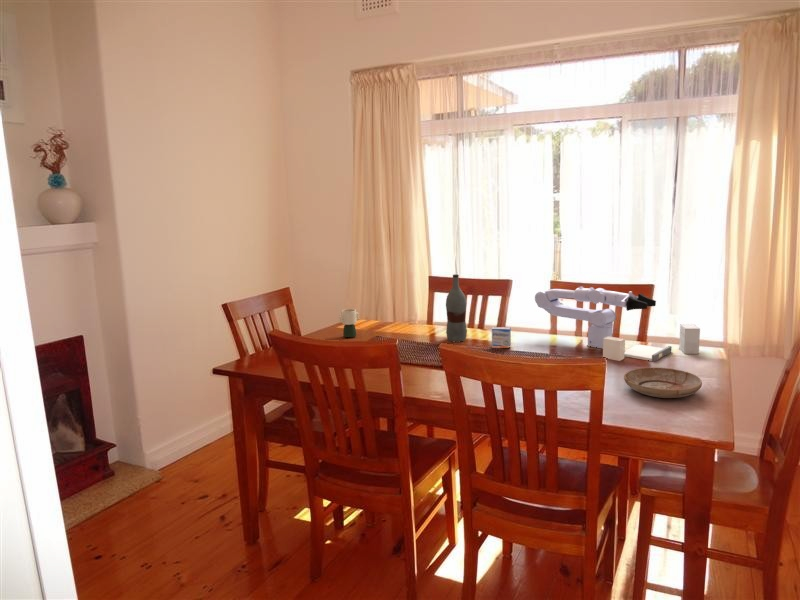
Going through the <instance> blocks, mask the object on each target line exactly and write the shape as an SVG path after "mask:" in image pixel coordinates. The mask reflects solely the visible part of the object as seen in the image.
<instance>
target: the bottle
mask: <svg viewBox="0 0 800 600" xmlns="http://www.w3.org/2000/svg"><path fill="white" fill-rule="evenodd" d="M459 281H460V280H459V274H455V273H454V274H452V287H451V289H450V290H449V292H448V293H447V296H446V299H445V300H446V301H445V309H446V320H447V321H446V330H445V333H446V338H447V341H448V342H450V341H456V342H455V343H460V342H459V341H463V342H465V341H466V340H467V333H468V329H467V323H466V318H467V317H466V316H467V304H468V303H467V299H466V295H465V293H463V290H462V289H461V287H460V282H459ZM464 340H465V341H464Z"/></svg>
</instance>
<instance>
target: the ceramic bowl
mask: <svg viewBox="0 0 800 600" xmlns="http://www.w3.org/2000/svg"><path fill="white" fill-rule="evenodd" d="M623 379H624V383H625V384H626V385H627V386H628V387H629V388H630V389H632V390H633V391H635V392H638V393H640V394H642V395H645V396H649V397H654V398H660V399H662V398H663V399H675V398H684V397H688V396H691V395H694V394H695V393H697V392H698V391H699V390H700V389H701V388H702V385H703V382H702V379H701V377H699V376H698V375H696V374H694V373H691V372H688V371H684V370H680V369H674V368H669V367H667V368H666V367H641V368H634V369H631V370H629V371H627V372H625V374H624V375H623Z"/></svg>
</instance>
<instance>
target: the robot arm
mask: <svg viewBox="0 0 800 600" xmlns="http://www.w3.org/2000/svg"><path fill="white" fill-rule="evenodd" d="M560 298H561V299H564V298H566V299H567V298H568V299H574V300H575V301H576V302H583V303H584V302H585V303H588V302H589V303H592V304H599V303H600V304H603V305H609V306H614V307H621V308H625V309H626V311H633V310H647V309H648V307H656V306H657V305H656V304H657V303H656V302H657V300H655V299H653V298H649V297H647V296H646V295H645V294H643V293H638V295H635V294H633V291H628V293H625V292H620V291H613V290H607V289H605V288H602V287H598V288H596V289H595V288H594V287H593V286H592V287H589V288H587V287H586V288H585V287H584V286H578V287H577V288H576V289H575V290H572V289H563V288H549V289H546V290H542V291H538V292H536V293H535V295H534V301H535V303H536V305H537V307H538V308H541V309H543V310H545V311H546V312H547V313H549V314H550V315H552V316H554V317H561V318H567V319H572V320H573V319H574V320H577V321H578V320H580V321H586V322H588V323H589V324H590V325H589V327H588V328H587V329H588V331H587V345H586V346H587V347H590V346H591V348H596V347H597V348H596V349H602V350H603V338H605V337H608V336H609V337H613V330H614V328H613V327H614V325H613V324H614V322H615V321H616V318H617V315H616V312H615V311H614V310H613V309H611V308H605V309H588V308H583V307H582V308H581V307H574V306H568V305H561V303H560V300H559V299H560Z"/></svg>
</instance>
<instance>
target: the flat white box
mask: <svg viewBox="0 0 800 600" xmlns="http://www.w3.org/2000/svg"><path fill="white" fill-rule="evenodd" d="M668 353H669V354H670V353H672V346H671V345H668V346H666V347H664V348H663V347H658V346H651V345H645V344H636V345H635V346H632V347H630V348H628V349H626V350H625V356H624V357H627V358H631V359H638V360H643V361H648V360H649V361H650V362H656V361H658V360H660V359H661V357H662V358H663V357H665V356H667V355H669V354H668ZM666 354H667V355H666ZM664 355H665V356H664ZM659 358H660V359H659ZM649 361H648V362H649Z"/></svg>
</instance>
